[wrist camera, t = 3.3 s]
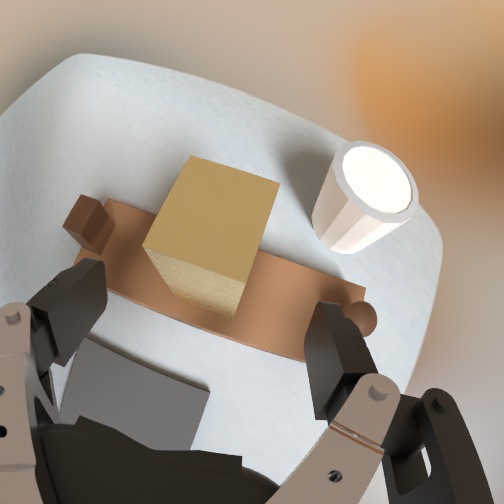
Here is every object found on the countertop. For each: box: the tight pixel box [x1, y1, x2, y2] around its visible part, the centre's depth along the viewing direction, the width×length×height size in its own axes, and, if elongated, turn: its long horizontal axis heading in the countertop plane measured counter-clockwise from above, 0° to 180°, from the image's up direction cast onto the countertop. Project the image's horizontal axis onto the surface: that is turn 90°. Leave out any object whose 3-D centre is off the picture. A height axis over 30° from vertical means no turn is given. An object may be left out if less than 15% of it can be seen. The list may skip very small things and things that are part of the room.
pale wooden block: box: [142, 156, 280, 320], centre depth 14 cm, size 4×4×9 cm
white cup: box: [311, 141, 418, 254], centre depth 20 cm, size 7×7×7 cm
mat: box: [59, 336, 210, 450], centre depth 15 cm, size 10×10×1 cm
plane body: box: [62, 194, 377, 363], centre depth 17 cm, size 20×6×6 cm, turn 72°
